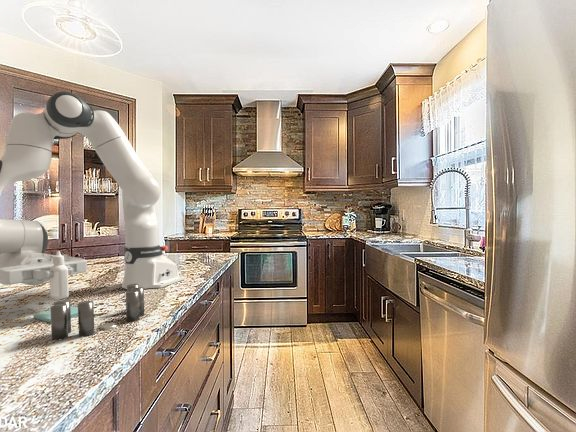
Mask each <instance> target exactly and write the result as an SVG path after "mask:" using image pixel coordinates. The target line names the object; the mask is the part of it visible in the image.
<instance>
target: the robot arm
mask: <svg viewBox="0 0 576 432" xmlns="http://www.w3.org/2000/svg"><path fill="white" fill-rule="evenodd" d="M12 117H13V118H12V119H11V121H10V124H9V128H8V132H7V136H6V141H5V150H4V152H3V155H2V157H0V197H1V196H2V193H3V191H4V189H5V188H6V186H8V185H10V184H13V183H16V182H21V181H28V180H34V179H37V178H39V177H41V176H43V175H45V174H46V173H47V172H48V171H49V170H50V167H51V163H52V157H53V156H52V153H53V142H54V140H64V139H71V138H73V137H75V136H77V135H78V133H79V134H81V135H83V136H84V137H85V138H87V140H88V141H90V142H89V143H90V144H91V146H92V148H93V149H94V151H95V152H96V154H97V156H98V158H99V159H100V160H101V162H102V164H103V165H104V167H105V169H106V170H107V172H108V173H109V174H110V175H111V176H112V178H113V180H114V181H115V182H116V184H117V185H118V187H119V188H120V189H121V192H122V193H121V197H122V208H123V210H122V211H123V219H124V237H125V240H124V241H125V245H124V246H125V247H124V248H123V251H124V252H123V254H124V256H123V257H124V265H125V267H124V274H123V275H124V276H123V278H122V284H121V289H125V290H127V285H130V284H139V287H143V288H144V290H145V289H146V290H147V289H160V288H164V287H167V286H169V285H172V284H175V283H179V282H181V281H183V280H186V278H185V277H186V276H184V275H180V274H179V269H178V266H177V264H176V263H175V262H174V261H173V260H171V259H169V258H168V257H167V256H166V255H164V252H168V250H169V246H168V245H162V246H160V245H159V244H160V243H159V240H160V239H159V223H158V217H157V212H156V203H157V202H158V201H159V200H160V197H161V187H160V185H159V183H158V182H157V181H156V179H155V178H154V176H153V175H152V173H151V172H150V171H149V169H148V168H147V166H146V165H145V164H144V162H143V161H142V159H141V158H140V157H139V156H138V154H137V152H136V151H135V149H134V147H133V145H132V144H131V143H130V140H129V138H128V137H127V135H126V134H125V132H124V131H123V129H122V128H121V126H120V125H119V123H118V122H117V121H116V119H115V118H114V117H113V116H112V115H111V114H110V113H109V112H108V111H105V110H102V109H101V110H100V109H99V110H97V109H96V110H94V108H93V106H91V105H90V104H88V103H87V102H85V101H84V100H83V99H82V98H81V97H80V96H79V95H77V94H75V93H73V92H70V91H59V92H56V93H54V94H52V95H50V96H49V98H48V99H47V101H46V104H45V106H44V108H43V111H42V112H40V113H35V112H34V113H33V112H20V113H17V114H15V115H14V116H12ZM48 243H49V235H48V232H47V230H46V229H45V227H44V225H43V224H42V223H40V222H39V221H37V220H27V219H26V220H25V219H10V218H9V219H8V218H0V284H2V285H5V286H8V285H9V286H10V285H17V284H23V285H27V286H28V285H29V286H38V285H41V284H43V283H45V282H50V278H53V277H54V275H53V274H54V272H53V271H51V270H50V268H51V267H52V266H53V265H54V264H53V257H54V256H56V254H55V253H54V254H52V253H50V254H48V253H46V251H47V248H48ZM61 255H62V256H64V265H65V266H66V267H67V268H68V276H70V275H77V274H84V273H86V272H87V270H88V261H87V259H84V258H81V257H77V256H76V257H75V256H69V255H68V254H66V253H61Z"/></svg>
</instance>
